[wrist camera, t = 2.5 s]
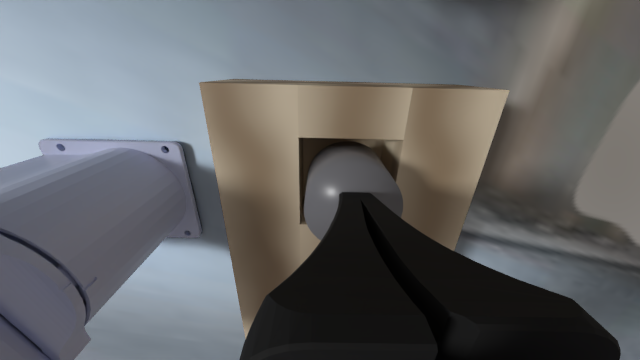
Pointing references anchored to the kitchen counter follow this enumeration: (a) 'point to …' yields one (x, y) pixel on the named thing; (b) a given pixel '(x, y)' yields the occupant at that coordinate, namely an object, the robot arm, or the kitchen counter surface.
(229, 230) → the mount
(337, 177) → the knob
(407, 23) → the kitchen counter surface
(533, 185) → the kitchen counter surface
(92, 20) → the kitchen counter surface
